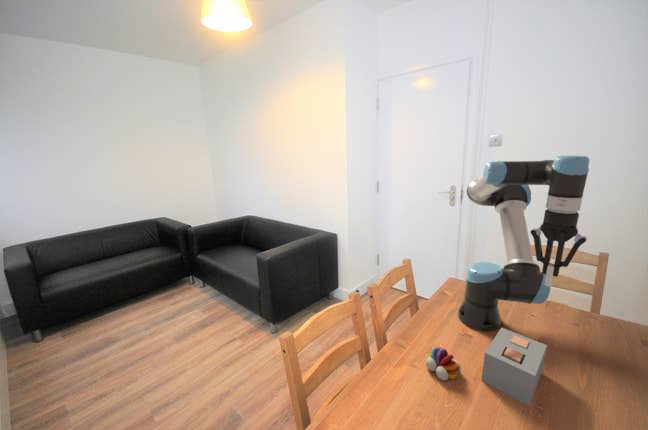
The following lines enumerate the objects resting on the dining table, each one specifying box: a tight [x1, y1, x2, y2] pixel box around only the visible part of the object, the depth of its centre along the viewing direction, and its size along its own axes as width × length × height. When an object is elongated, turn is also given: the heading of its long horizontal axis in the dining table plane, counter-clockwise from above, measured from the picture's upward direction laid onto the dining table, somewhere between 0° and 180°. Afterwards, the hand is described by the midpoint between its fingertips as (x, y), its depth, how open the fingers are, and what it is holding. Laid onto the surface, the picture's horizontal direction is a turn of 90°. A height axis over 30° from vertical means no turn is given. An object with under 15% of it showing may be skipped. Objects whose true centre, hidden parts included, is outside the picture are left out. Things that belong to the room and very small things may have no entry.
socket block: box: [480, 326, 548, 407], centre depth 83 cm, size 12×16×10 cm
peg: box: [503, 347, 523, 364], centre depth 81 cm, size 4×4×9 cm
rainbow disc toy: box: [425, 347, 462, 381], centre depth 87 cm, size 8×10×7 cm
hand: (548, 284), depth 86 cm, fingers closed
